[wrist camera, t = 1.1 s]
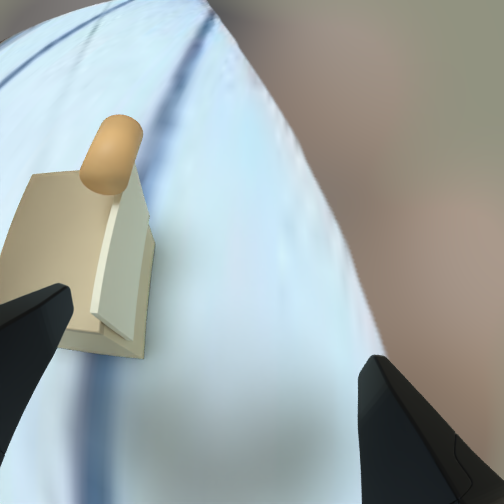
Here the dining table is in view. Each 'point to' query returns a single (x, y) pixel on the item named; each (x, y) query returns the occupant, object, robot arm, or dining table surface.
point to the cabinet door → (118, 221)
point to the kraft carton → (69, 258)
